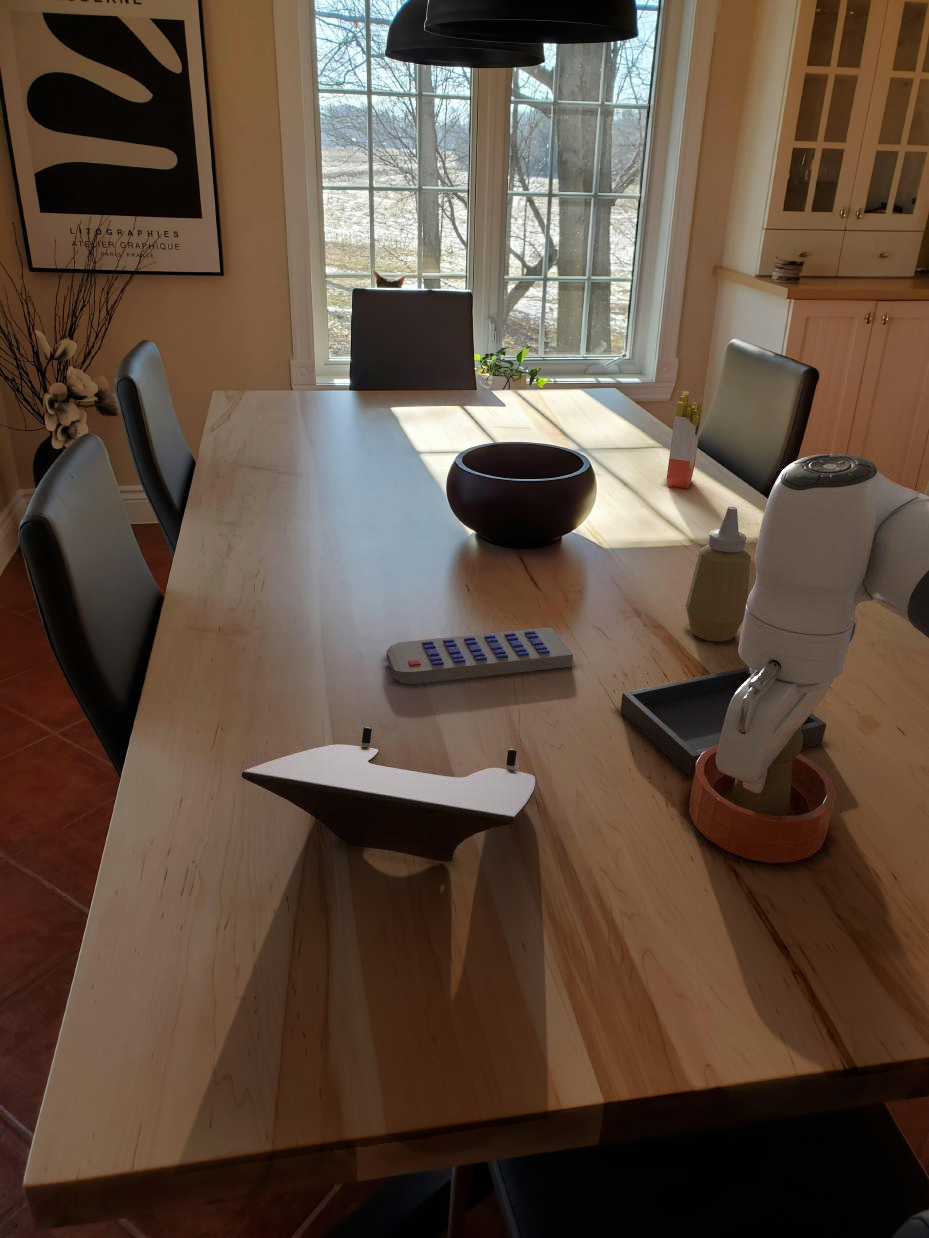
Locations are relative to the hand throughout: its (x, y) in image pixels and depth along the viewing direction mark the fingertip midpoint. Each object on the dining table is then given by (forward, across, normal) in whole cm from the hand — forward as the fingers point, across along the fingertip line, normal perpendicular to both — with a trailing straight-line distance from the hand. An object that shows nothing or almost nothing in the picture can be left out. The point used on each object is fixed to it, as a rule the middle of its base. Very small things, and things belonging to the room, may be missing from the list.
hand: (765, 772), depth 84 cm
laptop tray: (+6, -21, +26) cm, 34 cm away
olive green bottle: (+6, 0, 0) cm, 6 cm away
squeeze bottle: (+6, +36, +20) cm, 41 cm away
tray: (+6, +14, +10) cm, 17 cm away
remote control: (+6, +9, +40) cm, 41 cm away
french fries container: (+6, +96, +53) cm, 110 cm away
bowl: (+6, 0, 0) cm, 6 cm away
